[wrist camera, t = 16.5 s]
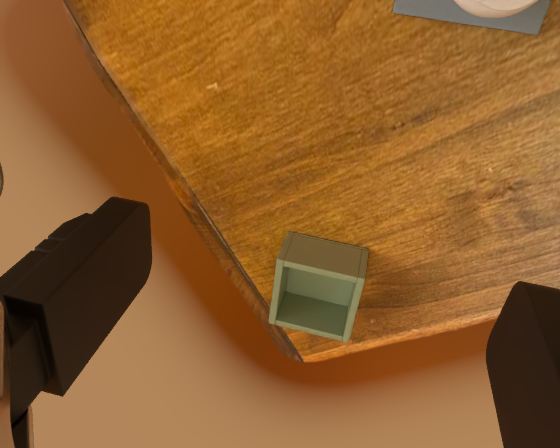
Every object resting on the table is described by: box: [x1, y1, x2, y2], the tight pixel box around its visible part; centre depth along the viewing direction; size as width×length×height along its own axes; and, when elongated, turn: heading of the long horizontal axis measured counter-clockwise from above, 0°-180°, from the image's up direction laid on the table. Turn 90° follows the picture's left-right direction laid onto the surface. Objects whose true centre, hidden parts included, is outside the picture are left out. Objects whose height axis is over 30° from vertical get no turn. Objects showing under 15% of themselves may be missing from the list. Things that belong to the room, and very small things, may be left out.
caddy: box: [269, 231, 369, 343], centre depth 41 cm, size 7×7×4 cm
